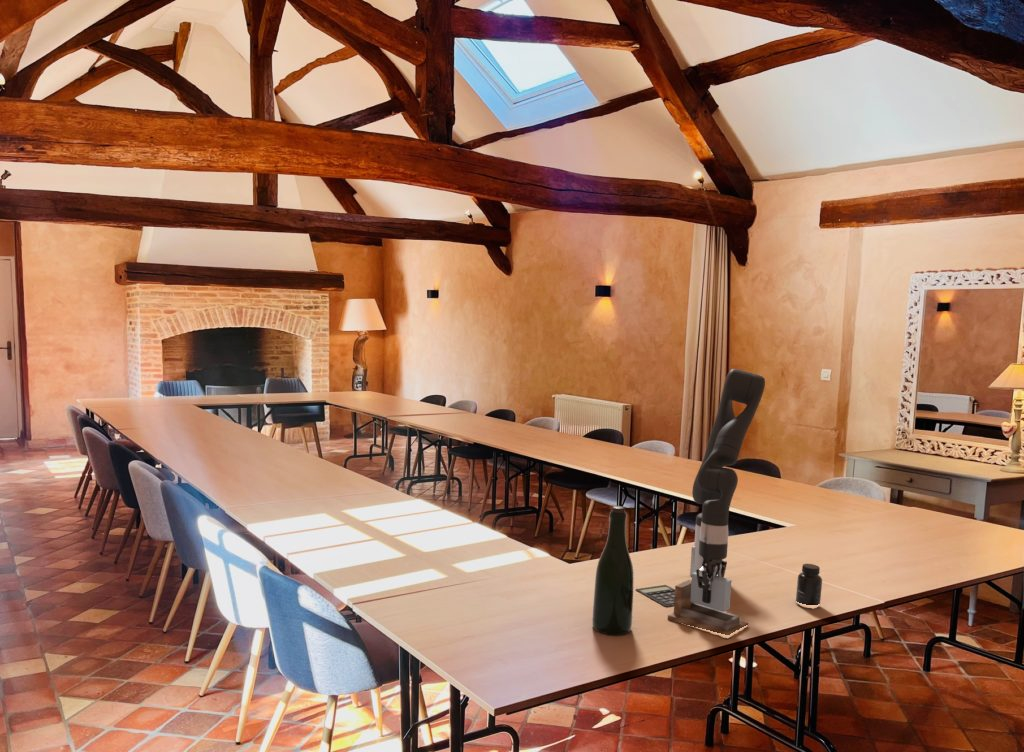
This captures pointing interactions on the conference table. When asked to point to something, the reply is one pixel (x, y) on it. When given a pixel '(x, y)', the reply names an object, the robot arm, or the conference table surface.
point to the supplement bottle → (809, 585)
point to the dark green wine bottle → (614, 580)
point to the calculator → (659, 594)
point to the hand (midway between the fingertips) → (709, 600)
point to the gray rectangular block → (713, 593)
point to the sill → (702, 613)
